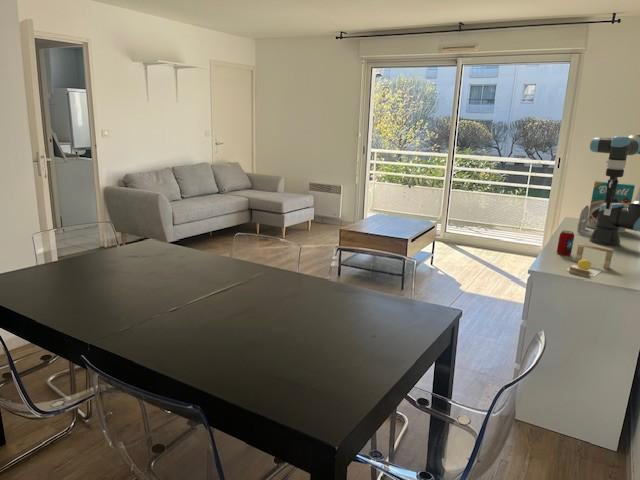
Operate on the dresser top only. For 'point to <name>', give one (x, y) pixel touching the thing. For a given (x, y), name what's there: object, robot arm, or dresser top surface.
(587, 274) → the wall
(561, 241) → the beverage can
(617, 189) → the cake mix box
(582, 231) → the ornament
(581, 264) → the ball
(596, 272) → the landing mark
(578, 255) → the bridge
